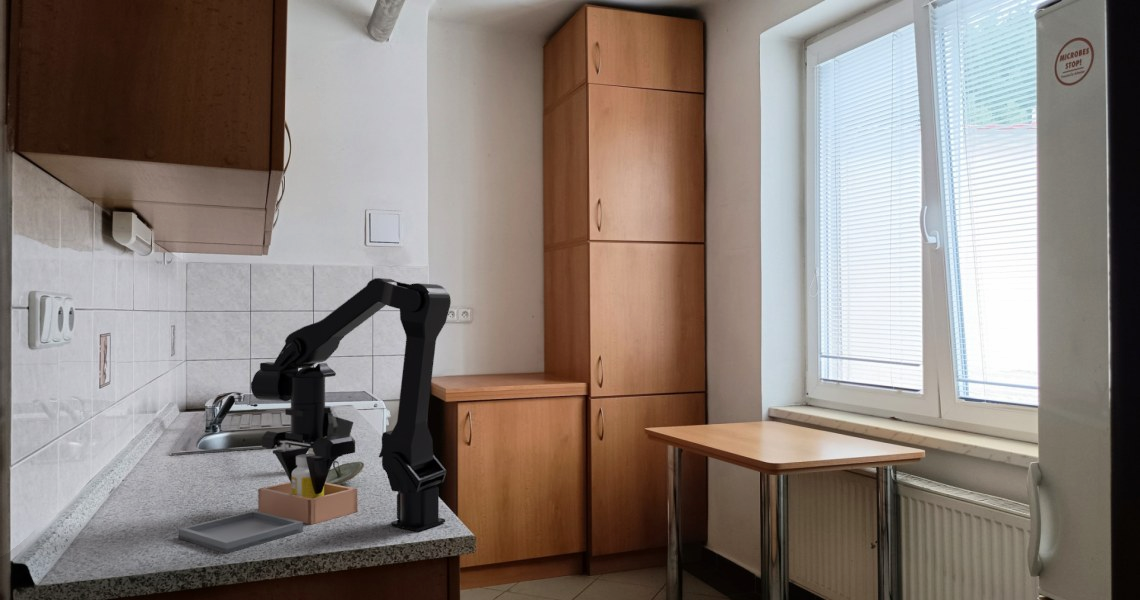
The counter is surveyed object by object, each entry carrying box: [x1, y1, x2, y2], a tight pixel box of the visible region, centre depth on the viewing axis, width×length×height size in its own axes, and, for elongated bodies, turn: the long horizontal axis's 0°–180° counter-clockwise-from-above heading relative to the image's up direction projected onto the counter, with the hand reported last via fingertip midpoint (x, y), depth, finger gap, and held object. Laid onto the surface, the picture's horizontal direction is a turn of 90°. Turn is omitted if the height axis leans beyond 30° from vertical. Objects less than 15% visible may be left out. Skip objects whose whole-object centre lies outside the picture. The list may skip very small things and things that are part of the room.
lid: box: [325, 460, 365, 485], centre depth 152 cm, size 11×10×5 cm
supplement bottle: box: [292, 453, 324, 498], centre depth 132 cm, size 5×5×10 cm
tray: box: [177, 509, 304, 554], centre depth 118 cm, size 13×13×2 cm
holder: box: [257, 481, 358, 525], centre depth 132 cm, size 15×10×4 cm, turn 56°
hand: (307, 491), depth 132 cm, fingers closed on supplement bottle, 5 cm apart
